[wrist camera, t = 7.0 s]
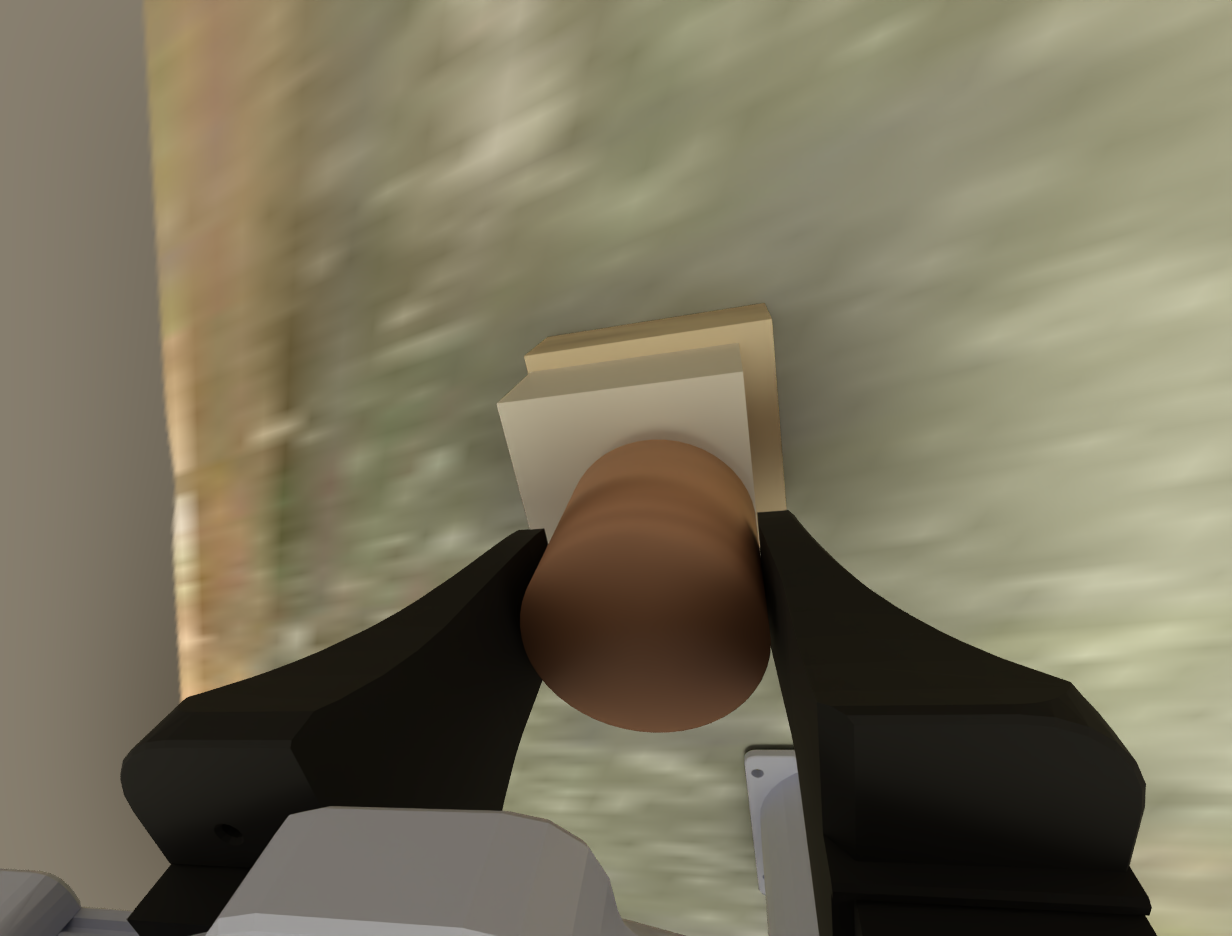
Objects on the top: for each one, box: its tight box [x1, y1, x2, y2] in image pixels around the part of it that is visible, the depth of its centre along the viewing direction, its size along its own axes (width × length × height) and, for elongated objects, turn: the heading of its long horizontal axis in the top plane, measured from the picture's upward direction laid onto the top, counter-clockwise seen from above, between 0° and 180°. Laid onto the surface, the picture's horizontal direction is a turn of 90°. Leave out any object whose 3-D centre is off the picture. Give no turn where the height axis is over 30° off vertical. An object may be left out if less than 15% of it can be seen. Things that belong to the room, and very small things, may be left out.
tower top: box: [497, 343, 760, 548], centre depth 17 cm, size 6×6×3 cm
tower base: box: [524, 303, 786, 546], centre depth 19 cm, size 7×7×3 cm
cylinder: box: [520, 440, 771, 732], centre depth 12 cm, size 4×4×4 cm
